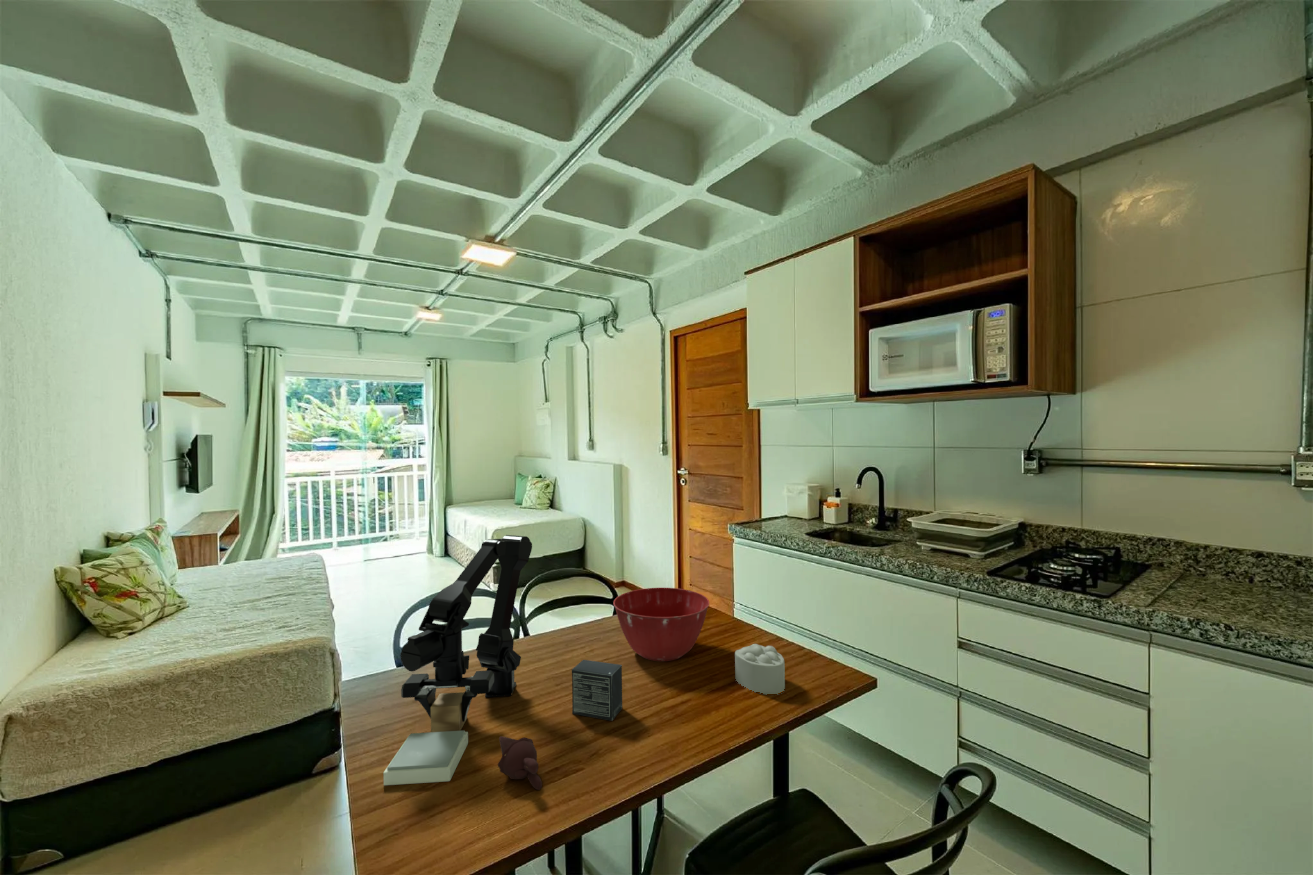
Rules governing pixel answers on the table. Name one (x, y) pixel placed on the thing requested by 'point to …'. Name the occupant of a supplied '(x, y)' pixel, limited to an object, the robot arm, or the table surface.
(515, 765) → the maroon toy figure
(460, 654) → the robot arm
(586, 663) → the small box
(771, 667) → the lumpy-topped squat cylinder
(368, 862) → the table surface
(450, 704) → the oak cube
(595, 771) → the table surface
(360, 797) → the table surface
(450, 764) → the pedestal
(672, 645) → the mixing bowl
